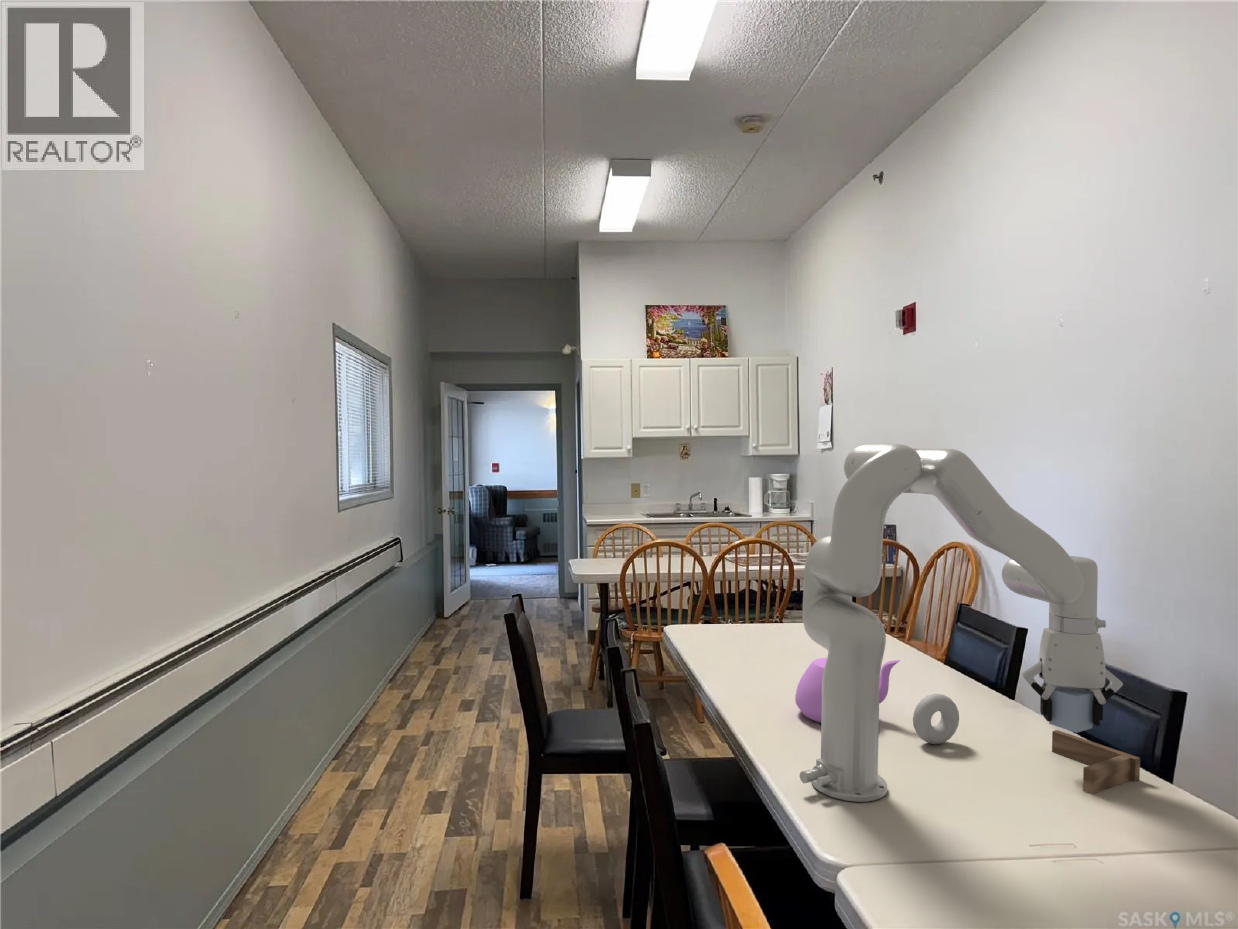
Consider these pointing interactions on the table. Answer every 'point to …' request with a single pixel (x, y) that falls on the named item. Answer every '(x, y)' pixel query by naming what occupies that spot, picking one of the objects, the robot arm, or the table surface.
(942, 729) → the donut
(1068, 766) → the table surface
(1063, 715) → the block
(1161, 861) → the table surface
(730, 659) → the table surface
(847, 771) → the robot arm
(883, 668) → the teapot
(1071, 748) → the corner stop
